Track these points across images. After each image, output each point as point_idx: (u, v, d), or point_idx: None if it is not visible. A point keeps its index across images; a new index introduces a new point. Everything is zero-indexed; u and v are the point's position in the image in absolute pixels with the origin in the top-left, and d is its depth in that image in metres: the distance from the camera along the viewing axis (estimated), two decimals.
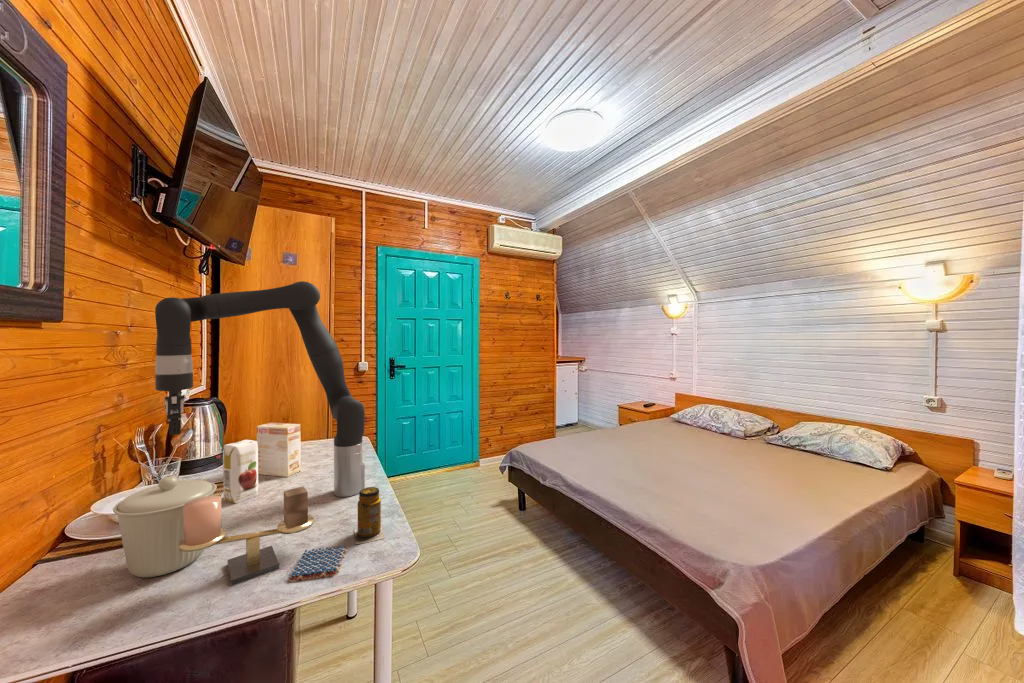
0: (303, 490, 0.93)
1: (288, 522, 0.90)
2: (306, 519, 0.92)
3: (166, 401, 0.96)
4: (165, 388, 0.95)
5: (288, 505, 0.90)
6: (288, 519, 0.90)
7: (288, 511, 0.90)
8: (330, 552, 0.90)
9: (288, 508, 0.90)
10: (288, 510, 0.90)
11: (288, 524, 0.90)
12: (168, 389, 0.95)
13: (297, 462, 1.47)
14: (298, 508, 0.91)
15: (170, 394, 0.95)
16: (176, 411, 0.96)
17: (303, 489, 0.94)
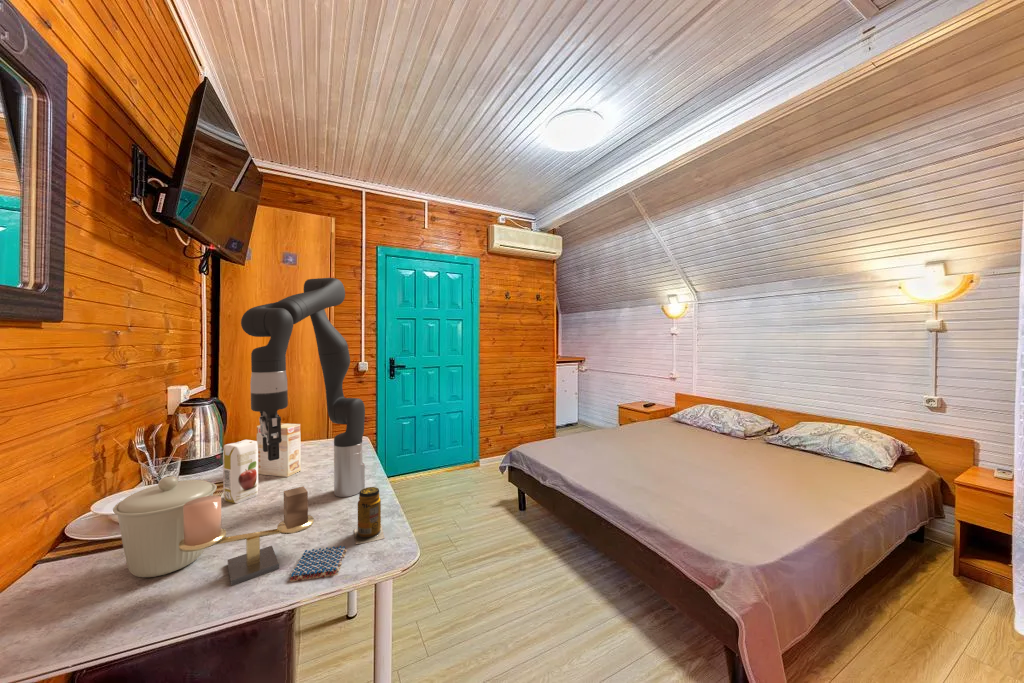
0: (303, 490, 0.93)
1: (288, 522, 0.90)
2: (306, 519, 0.92)
3: (263, 423, 0.86)
4: (263, 408, 0.86)
5: (288, 505, 0.90)
6: (288, 519, 0.90)
7: (288, 511, 0.90)
8: (330, 552, 0.90)
9: (288, 508, 0.90)
10: (288, 510, 0.90)
11: (288, 524, 0.90)
12: (266, 410, 0.86)
13: (297, 462, 1.47)
14: (298, 508, 0.91)
15: (268, 415, 0.86)
16: (274, 434, 0.87)
17: (303, 489, 0.94)
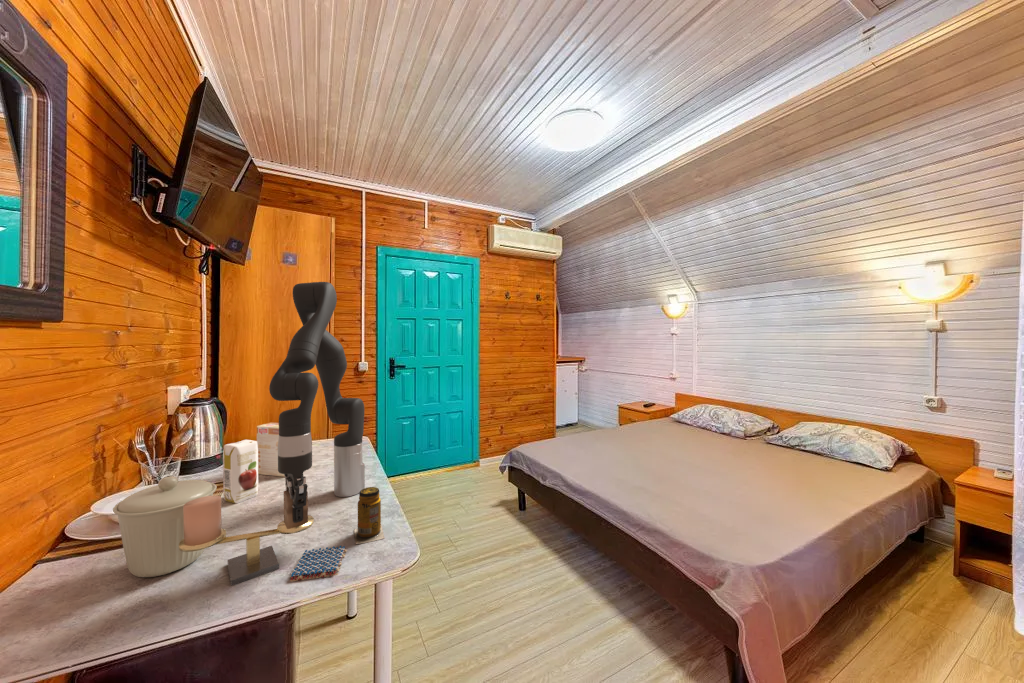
0: None
1: (288, 522, 0.90)
2: (306, 519, 0.92)
3: (290, 485, 0.90)
4: (290, 471, 0.89)
5: (288, 505, 0.90)
6: (288, 519, 0.90)
7: (288, 511, 0.90)
8: (330, 552, 0.90)
9: (288, 508, 0.90)
10: (288, 510, 0.90)
11: (288, 524, 0.90)
12: (293, 472, 0.89)
13: None
14: None
15: (295, 477, 0.89)
16: None
17: None
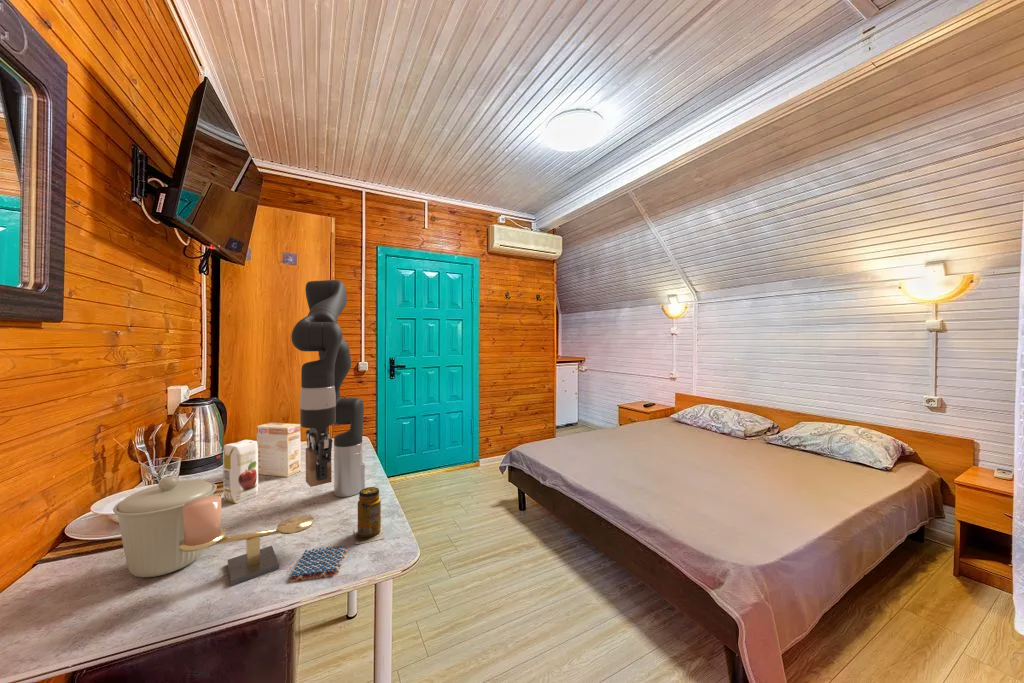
0: None
1: (311, 480, 0.84)
2: (330, 478, 0.87)
3: (313, 441, 0.84)
4: (314, 425, 0.83)
5: (311, 461, 0.84)
6: (311, 476, 0.84)
7: (311, 468, 0.84)
8: (330, 552, 0.90)
9: (311, 465, 0.84)
10: (311, 467, 0.84)
11: (311, 482, 0.84)
12: (317, 426, 0.84)
13: (297, 462, 1.47)
14: None
15: (319, 432, 0.84)
16: None
17: None
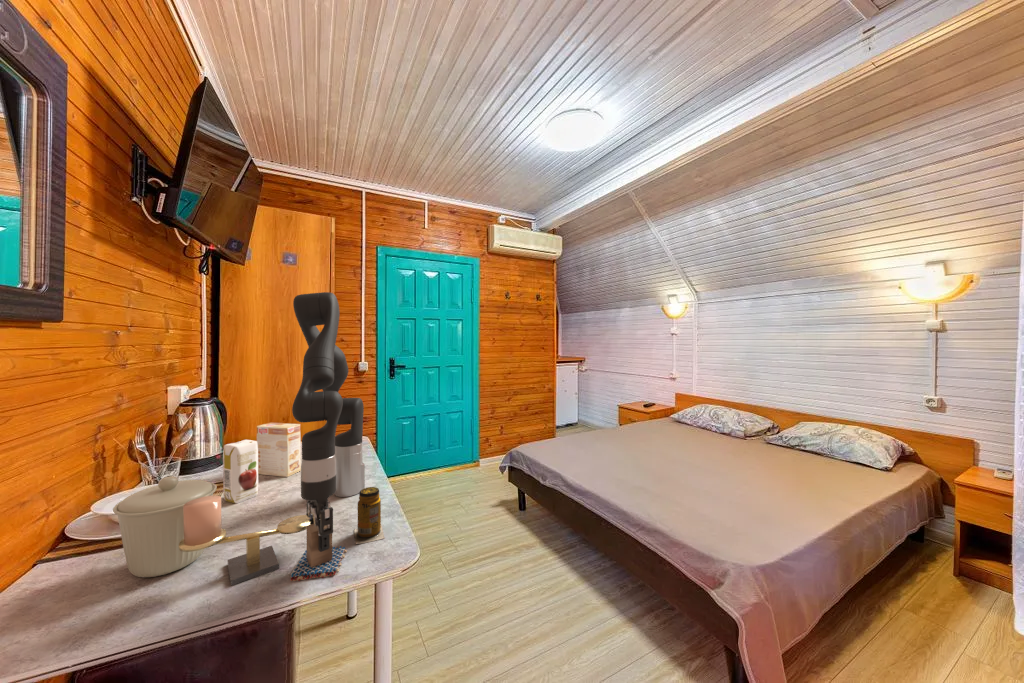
0: None
1: (312, 560, 0.84)
2: (330, 556, 0.87)
3: (314, 511, 0.84)
4: (314, 497, 0.84)
5: (312, 542, 0.84)
6: (312, 557, 0.84)
7: (312, 548, 0.84)
8: None
9: (312, 545, 0.84)
10: (312, 547, 0.84)
11: (312, 562, 0.84)
12: (317, 498, 0.84)
13: (297, 462, 1.47)
14: None
15: (319, 504, 0.84)
16: None
17: None
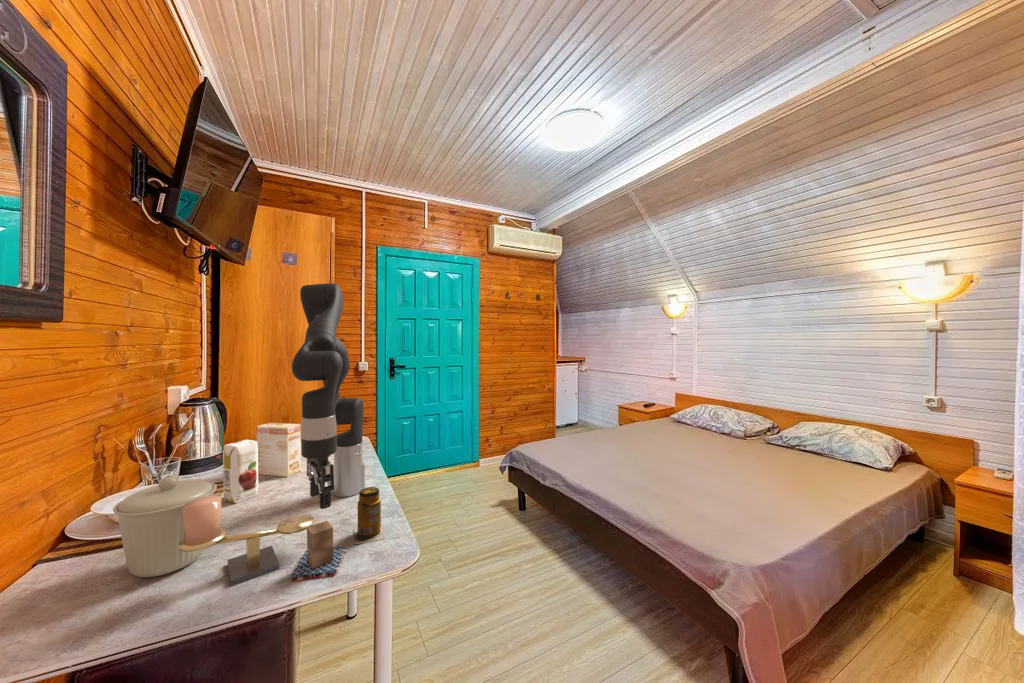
0: (328, 526, 0.88)
1: (313, 561, 0.84)
2: (331, 556, 0.87)
3: (314, 470, 0.84)
4: (315, 456, 0.83)
5: (313, 543, 0.84)
6: (313, 558, 0.84)
7: (313, 549, 0.84)
8: None
9: (313, 546, 0.84)
10: (313, 548, 0.84)
11: (313, 563, 0.84)
12: (318, 457, 0.84)
13: (297, 462, 1.47)
14: (323, 545, 0.86)
15: (320, 462, 0.84)
16: None
17: (328, 524, 0.88)
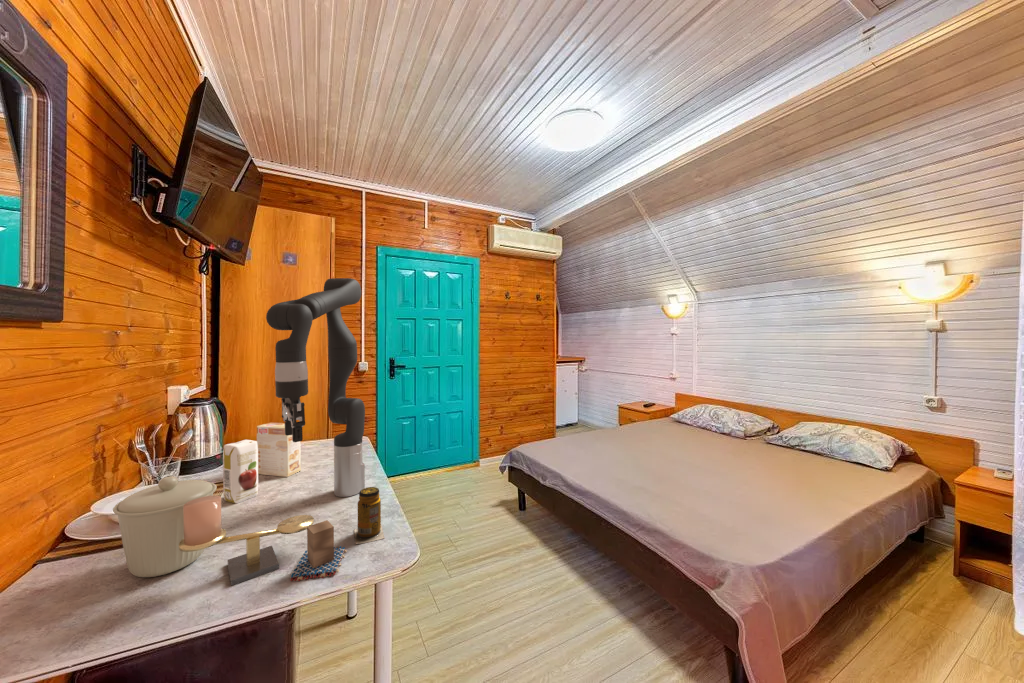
0: (329, 525, 0.88)
1: (314, 561, 0.84)
2: (332, 556, 0.87)
3: (287, 408, 0.95)
4: (287, 395, 0.94)
5: (314, 542, 0.84)
6: (314, 557, 0.84)
7: (314, 549, 0.84)
8: None
9: (314, 546, 0.84)
10: (314, 548, 0.84)
11: (314, 563, 0.84)
12: (290, 396, 0.95)
13: (297, 462, 1.47)
14: (324, 544, 0.86)
15: (292, 401, 0.95)
16: (298, 418, 0.96)
17: (328, 524, 0.88)
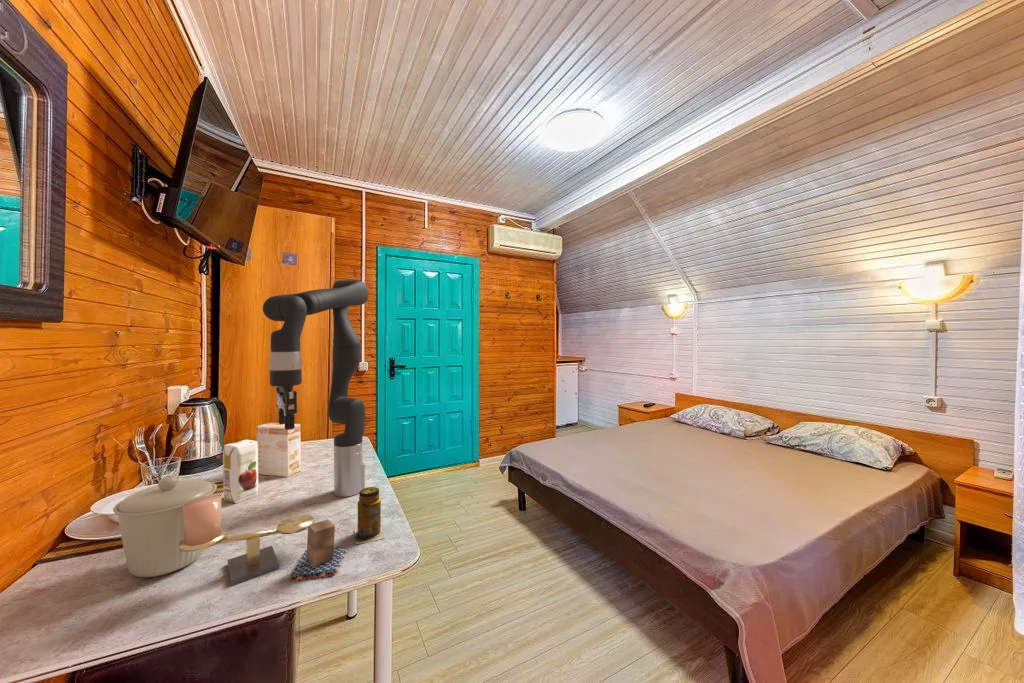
0: (330, 524, 0.88)
1: (314, 559, 0.84)
2: (331, 555, 0.87)
3: (281, 396, 0.98)
4: (281, 384, 0.97)
5: (315, 541, 0.84)
6: (314, 556, 0.84)
7: (314, 547, 0.84)
8: None
9: (315, 544, 0.84)
10: (315, 546, 0.84)
11: (314, 561, 0.84)
12: (283, 385, 0.97)
13: (297, 462, 1.47)
14: (324, 543, 0.86)
15: (285, 389, 0.97)
16: (290, 406, 0.98)
17: (329, 523, 0.89)
